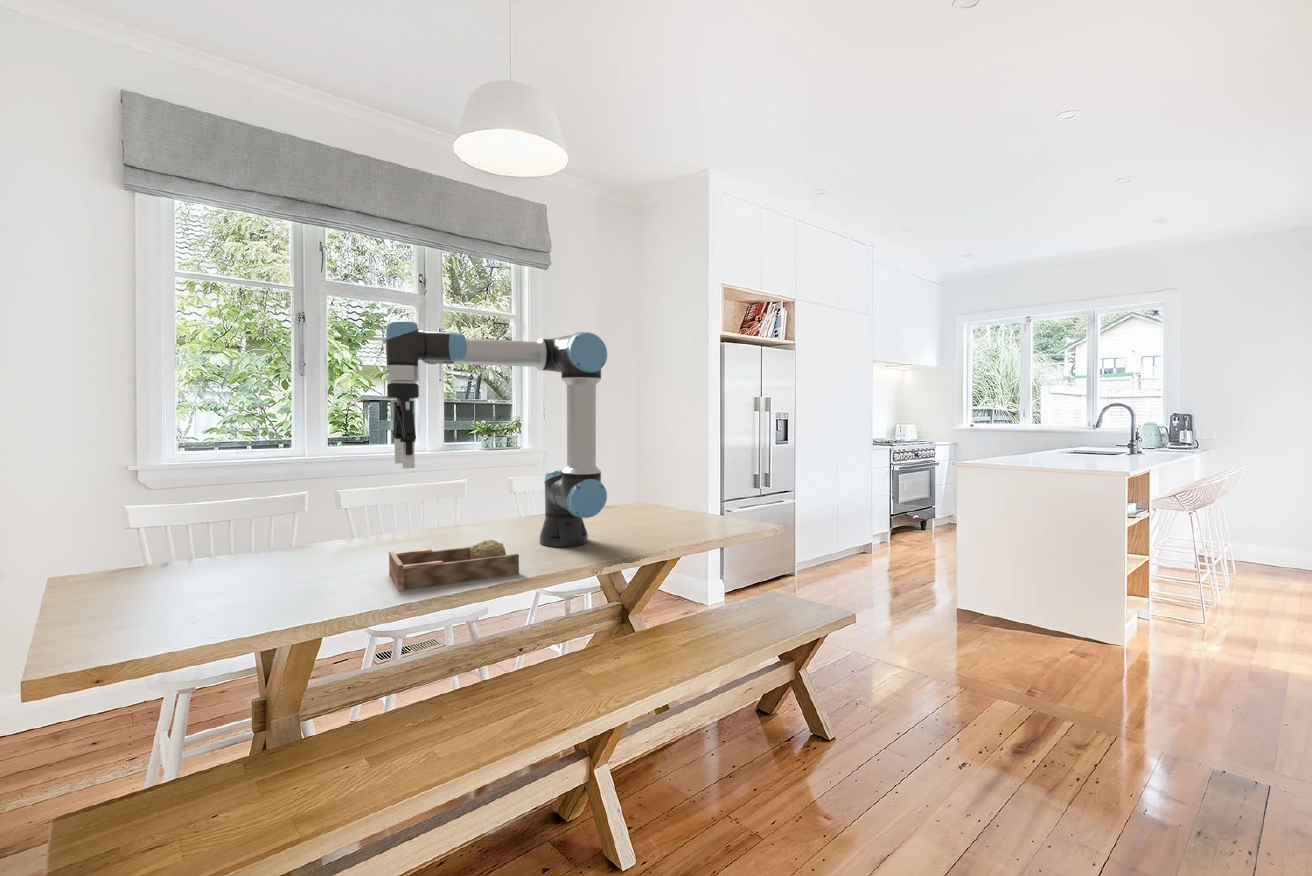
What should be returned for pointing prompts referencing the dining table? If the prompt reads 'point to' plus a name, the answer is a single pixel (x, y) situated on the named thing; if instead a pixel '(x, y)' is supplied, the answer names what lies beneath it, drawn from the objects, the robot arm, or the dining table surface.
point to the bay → (446, 567)
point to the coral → (487, 550)
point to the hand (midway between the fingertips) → (404, 465)
